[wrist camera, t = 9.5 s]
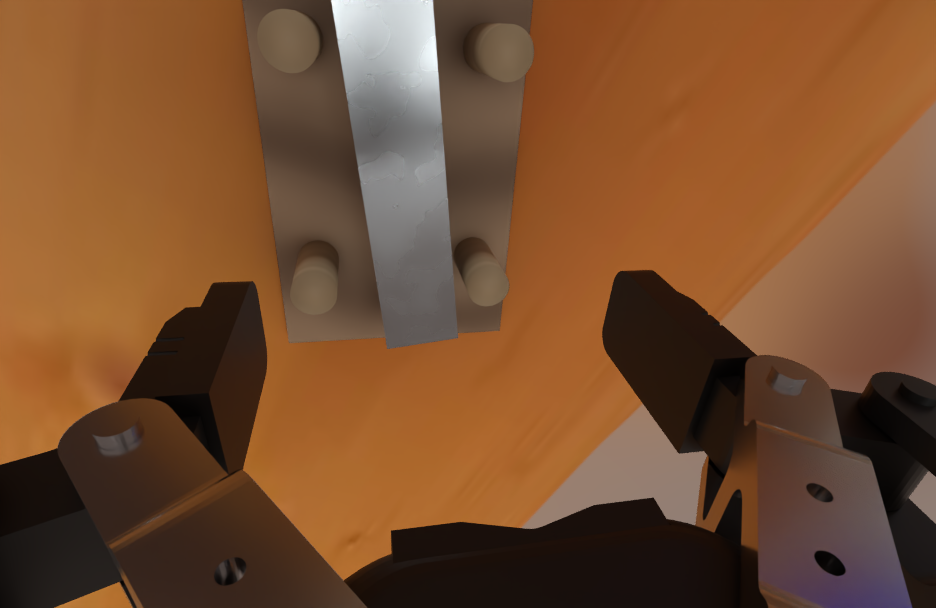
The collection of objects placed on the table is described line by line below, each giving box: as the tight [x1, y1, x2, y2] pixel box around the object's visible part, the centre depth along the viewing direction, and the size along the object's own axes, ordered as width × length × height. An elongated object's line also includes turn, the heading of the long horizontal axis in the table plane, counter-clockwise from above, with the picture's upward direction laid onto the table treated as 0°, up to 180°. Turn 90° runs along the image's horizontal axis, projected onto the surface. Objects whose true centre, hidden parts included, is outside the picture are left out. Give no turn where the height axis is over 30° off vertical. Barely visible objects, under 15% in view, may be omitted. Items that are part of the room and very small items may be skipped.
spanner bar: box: [331, 0, 458, 349], centre depth 23 cm, size 16×4×4 cm, turn 3°
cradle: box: [242, 0, 534, 343], centre depth 23 cm, size 20×12×5 cm, turn 177°
